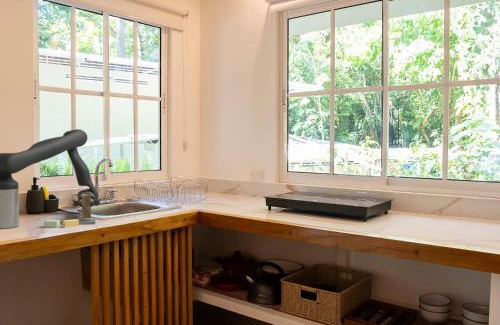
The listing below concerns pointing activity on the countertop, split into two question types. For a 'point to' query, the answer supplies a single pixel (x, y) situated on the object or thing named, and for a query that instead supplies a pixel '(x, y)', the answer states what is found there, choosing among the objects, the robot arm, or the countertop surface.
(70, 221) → the mustard brick
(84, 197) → the walnut post
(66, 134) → the robot arm
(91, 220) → the slate coaster
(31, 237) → the countertop surface
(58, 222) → the sage brick
